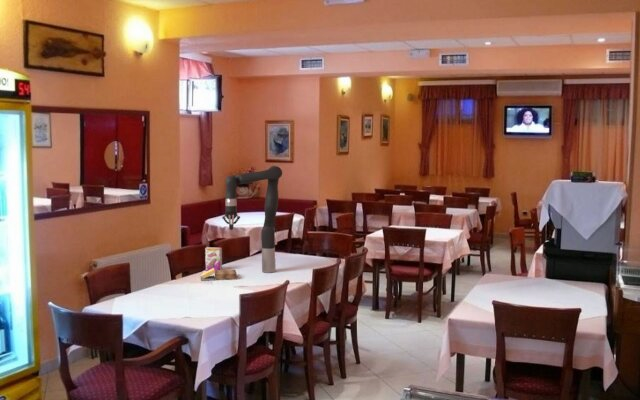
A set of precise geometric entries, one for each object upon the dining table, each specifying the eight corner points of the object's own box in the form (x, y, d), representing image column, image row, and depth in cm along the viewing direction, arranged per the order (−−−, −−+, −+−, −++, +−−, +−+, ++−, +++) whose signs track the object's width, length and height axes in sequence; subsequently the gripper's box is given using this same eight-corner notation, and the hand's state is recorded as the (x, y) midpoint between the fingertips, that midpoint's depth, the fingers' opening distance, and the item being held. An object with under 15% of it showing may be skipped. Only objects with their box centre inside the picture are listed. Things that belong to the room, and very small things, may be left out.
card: (215, 271, 427) (213, 267, 427) (215, 272, 422) (213, 269, 421) (202, 276, 426) (201, 273, 426) (203, 278, 420) (201, 275, 420)
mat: (213, 276, 431) (213, 275, 431) (214, 280, 417) (214, 280, 417) (200, 276, 429) (200, 276, 429) (201, 281, 415) (201, 280, 415)
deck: (235, 275, 433) (235, 269, 433) (236, 279, 420) (236, 273, 420) (214, 276, 430) (214, 270, 430) (215, 280, 418) (215, 274, 417)
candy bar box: (205, 270, 447) (204, 248, 446) (207, 269, 452) (206, 247, 451) (220, 271, 446) (220, 248, 445) (222, 269, 451) (221, 247, 450)
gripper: (240, 204, 439) (240, 228, 440) (221, 204, 436) (221, 229, 437) (241, 205, 431) (241, 230, 433) (221, 205, 429) (221, 230, 430)
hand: (231, 229), depth 435 cm, fingers closed
